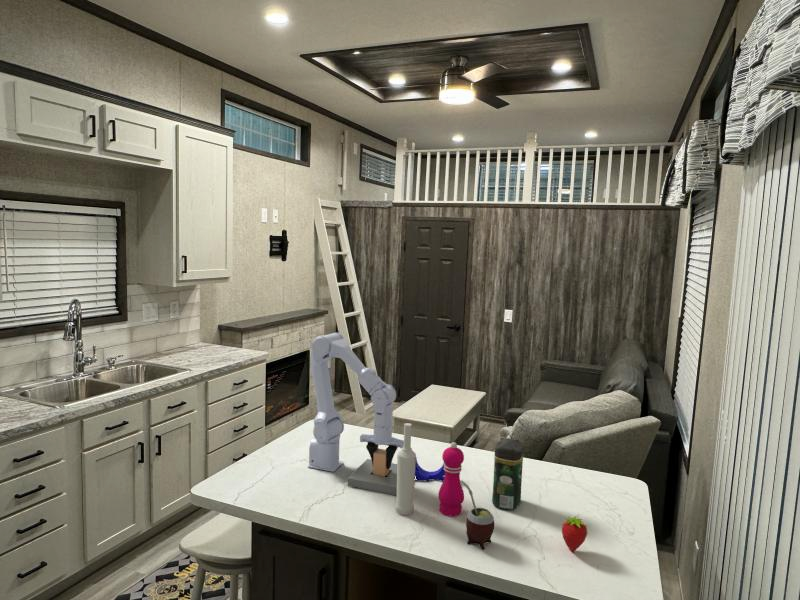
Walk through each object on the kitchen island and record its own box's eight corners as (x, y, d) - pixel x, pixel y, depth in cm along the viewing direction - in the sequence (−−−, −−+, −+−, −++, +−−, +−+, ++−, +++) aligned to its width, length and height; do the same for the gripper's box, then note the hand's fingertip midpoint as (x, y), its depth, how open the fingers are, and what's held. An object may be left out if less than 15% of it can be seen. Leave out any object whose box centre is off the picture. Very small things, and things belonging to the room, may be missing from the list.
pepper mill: (446, 519, 147) (449, 448, 145) (432, 507, 153) (435, 439, 151) (468, 514, 150) (472, 445, 148) (454, 503, 157) (457, 436, 155)
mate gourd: (497, 549, 134) (501, 491, 132) (467, 552, 132) (470, 493, 131) (486, 533, 141) (489, 478, 139) (457, 535, 139) (460, 479, 138)
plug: (372, 474, 168) (373, 452, 168) (377, 469, 172) (378, 448, 172) (385, 476, 167) (385, 455, 166) (389, 471, 171) (390, 450, 170)
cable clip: (409, 480, 171) (410, 462, 171) (411, 474, 176) (411, 456, 175) (447, 483, 170) (448, 464, 169) (448, 477, 174) (448, 459, 174)
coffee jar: (496, 493, 164) (499, 434, 162) (522, 499, 161) (526, 438, 159) (488, 507, 155) (492, 444, 153) (516, 513, 152) (520, 450, 150)
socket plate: (347, 485, 165) (347, 478, 165) (367, 466, 180) (367, 458, 180) (396, 495, 160) (397, 487, 160) (412, 474, 175) (413, 466, 175)
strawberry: (588, 548, 136) (591, 510, 135) (581, 562, 129) (584, 523, 128) (564, 540, 139) (567, 503, 138) (556, 554, 132) (559, 515, 131)
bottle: (416, 508, 153) (419, 422, 150) (410, 517, 148) (414, 428, 145) (398, 505, 154) (402, 420, 152) (392, 513, 149) (395, 425, 147)
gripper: (356, 425, 167) (355, 467, 168) (401, 432, 162) (399, 475, 164) (365, 418, 173) (364, 459, 175) (408, 425, 169) (406, 466, 170)
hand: (381, 466), depth 170 cm, fingers closed on plug, 4 cm apart
